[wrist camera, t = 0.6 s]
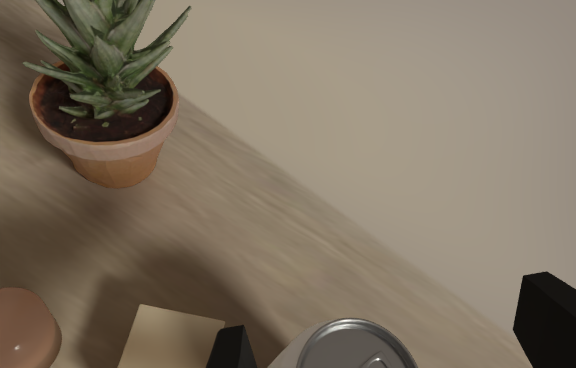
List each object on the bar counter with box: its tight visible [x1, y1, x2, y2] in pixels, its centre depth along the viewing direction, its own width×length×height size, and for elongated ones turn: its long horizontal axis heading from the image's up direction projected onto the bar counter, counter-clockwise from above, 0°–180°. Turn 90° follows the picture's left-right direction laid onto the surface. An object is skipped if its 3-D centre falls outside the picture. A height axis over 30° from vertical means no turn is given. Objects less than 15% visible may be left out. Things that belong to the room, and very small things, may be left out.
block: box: [118, 304, 225, 368], centre depth 24 cm, size 5×5×4 cm
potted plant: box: [23, 0, 191, 188], centre depth 24 cm, size 10×10×25 cm
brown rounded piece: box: [0, 287, 62, 368], centre depth 23 cm, size 4×4×4 cm
